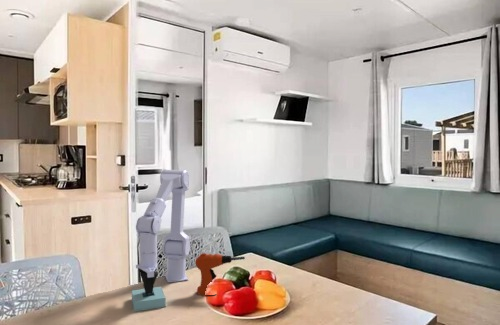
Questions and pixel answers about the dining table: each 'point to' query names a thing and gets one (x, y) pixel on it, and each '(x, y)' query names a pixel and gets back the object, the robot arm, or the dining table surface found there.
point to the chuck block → (148, 299)
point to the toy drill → (210, 268)
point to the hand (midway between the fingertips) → (148, 291)
